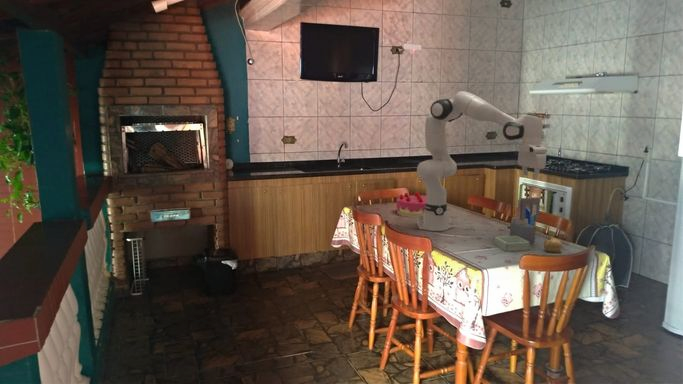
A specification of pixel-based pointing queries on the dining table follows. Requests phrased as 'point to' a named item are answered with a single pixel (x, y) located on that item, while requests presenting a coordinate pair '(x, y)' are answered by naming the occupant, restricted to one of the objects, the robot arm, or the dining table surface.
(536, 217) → the loose hook
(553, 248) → the onion
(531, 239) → the vise
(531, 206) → the clamped hook
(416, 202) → the cake
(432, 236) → the dining table surface
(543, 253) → the dining table surface
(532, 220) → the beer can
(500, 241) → the bin
